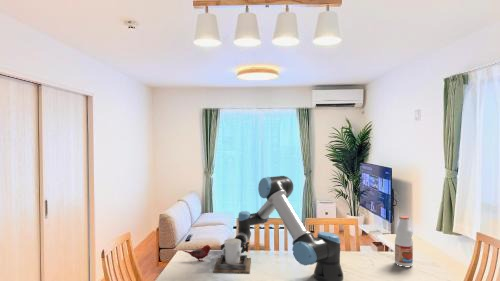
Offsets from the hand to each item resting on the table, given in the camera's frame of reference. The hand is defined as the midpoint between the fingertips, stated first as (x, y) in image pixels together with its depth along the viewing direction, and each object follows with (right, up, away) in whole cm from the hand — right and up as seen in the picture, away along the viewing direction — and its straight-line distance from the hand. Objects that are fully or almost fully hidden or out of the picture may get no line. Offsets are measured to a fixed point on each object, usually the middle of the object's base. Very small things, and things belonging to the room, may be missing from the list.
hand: (230, 253), depth 186 cm
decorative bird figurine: (-21, -9, +11) cm, 25 cm away
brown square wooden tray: (+1, -9, +5) cm, 10 cm away
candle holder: (+1, -7, +5) cm, 8 cm away
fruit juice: (+100, -9, +7) cm, 101 cm away
